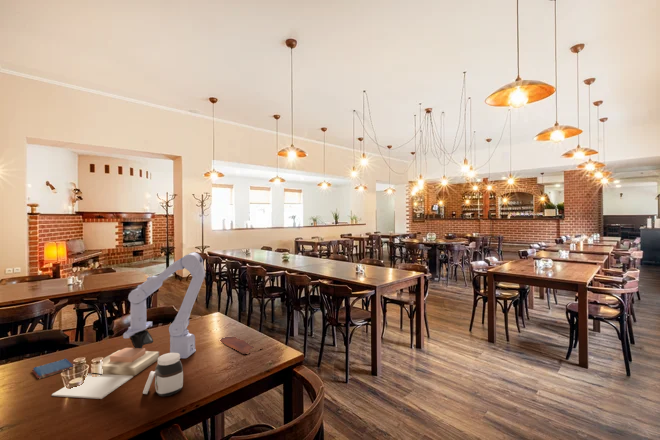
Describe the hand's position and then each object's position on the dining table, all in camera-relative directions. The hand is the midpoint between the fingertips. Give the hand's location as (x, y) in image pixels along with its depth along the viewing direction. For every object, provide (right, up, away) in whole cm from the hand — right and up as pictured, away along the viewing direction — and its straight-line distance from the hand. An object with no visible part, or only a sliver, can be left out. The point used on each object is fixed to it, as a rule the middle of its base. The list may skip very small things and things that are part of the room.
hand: (138, 349), depth 131 cm
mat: (-2, -4, -22) cm, 22 cm away
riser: (-1, -4, -7) cm, 8 cm away
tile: (-1, -1, -6) cm, 6 cm away
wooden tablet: (+38, -5, +15) cm, 41 cm away
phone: (-11, -4, +20) cm, 24 cm away
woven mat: (-27, -5, -10) cm, 29 cm away
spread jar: (+24, -4, -25) cm, 35 cm away
